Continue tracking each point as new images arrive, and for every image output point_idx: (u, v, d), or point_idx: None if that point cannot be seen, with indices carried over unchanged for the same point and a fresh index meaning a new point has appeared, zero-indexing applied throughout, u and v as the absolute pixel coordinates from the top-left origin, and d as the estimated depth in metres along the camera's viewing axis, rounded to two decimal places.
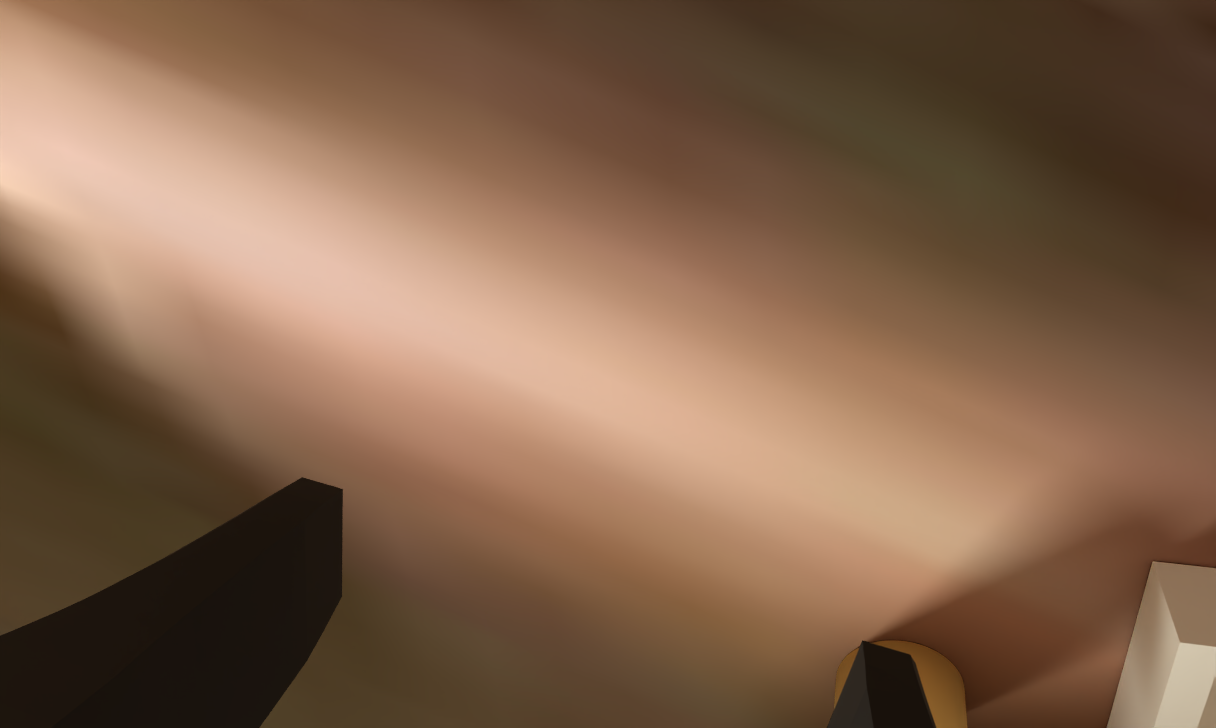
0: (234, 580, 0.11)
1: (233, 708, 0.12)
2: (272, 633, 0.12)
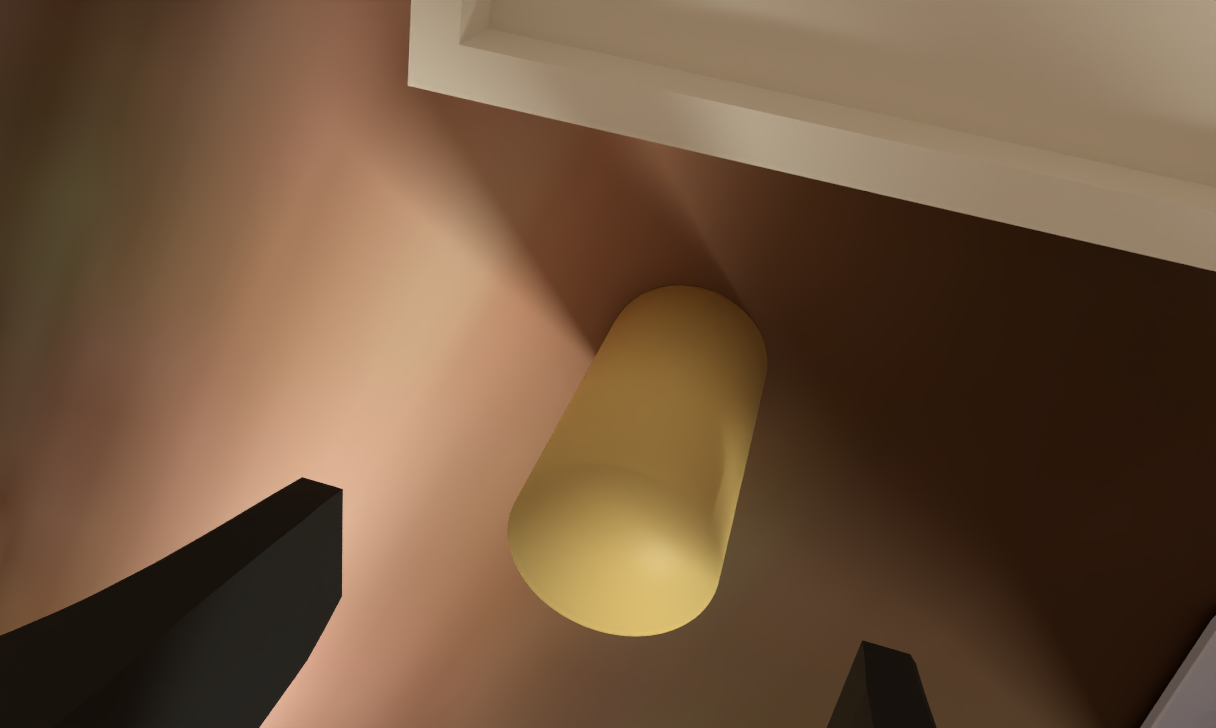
0: (234, 580, 0.11)
1: (233, 708, 0.12)
2: (272, 633, 0.12)
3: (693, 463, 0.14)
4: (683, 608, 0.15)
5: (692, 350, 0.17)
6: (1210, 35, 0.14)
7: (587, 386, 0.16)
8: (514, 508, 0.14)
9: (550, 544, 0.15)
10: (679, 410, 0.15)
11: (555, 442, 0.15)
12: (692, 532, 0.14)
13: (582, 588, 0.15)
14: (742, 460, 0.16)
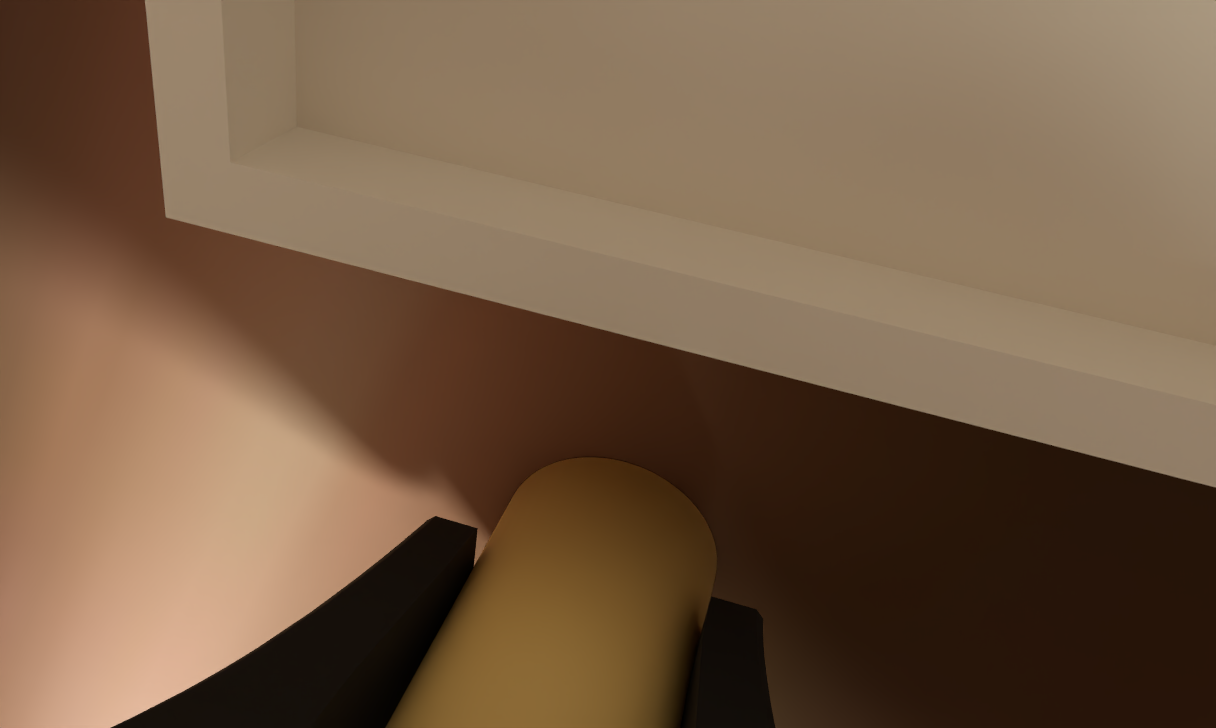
0: (393, 629, 0.11)
1: None
2: None
3: None
4: None
5: (599, 582, 0.12)
6: None
7: (444, 643, 0.11)
8: None
9: None
10: (567, 707, 0.10)
11: None
12: None
13: None
14: None
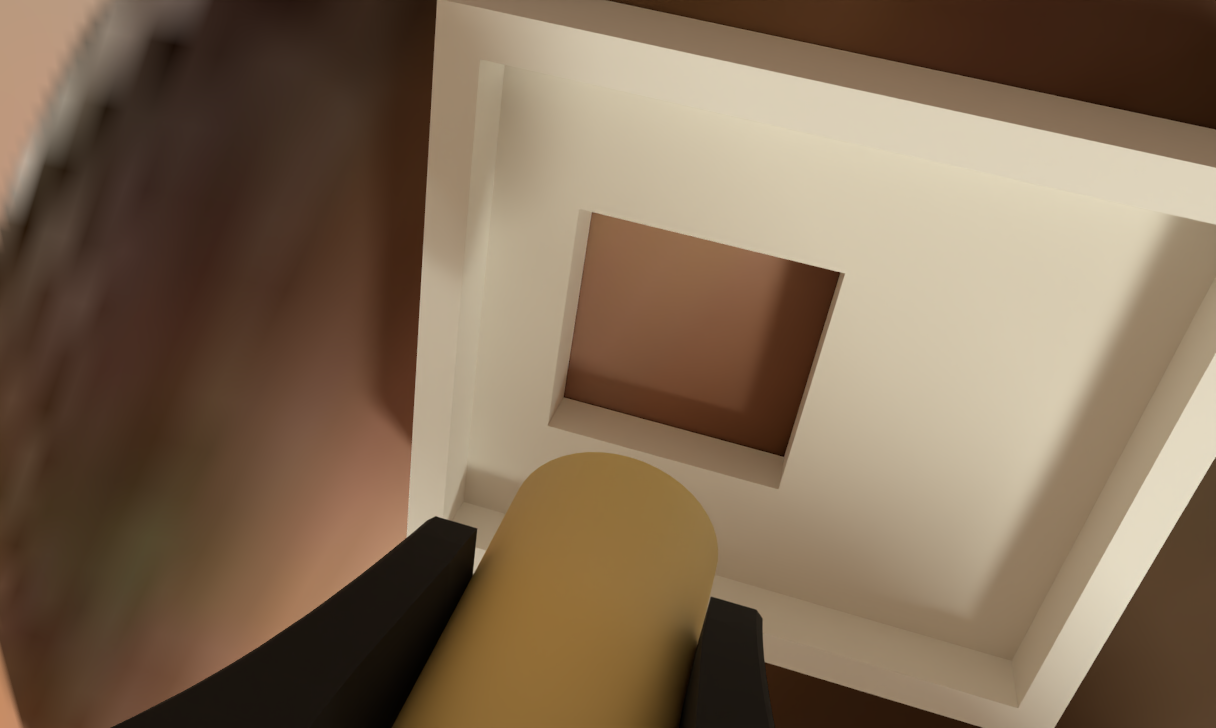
0: (393, 629, 0.11)
1: None
2: (415, 678, 0.12)
3: None
4: None
5: (604, 577, 0.12)
6: (945, 564, 0.20)
7: (454, 634, 0.12)
8: None
9: None
10: (574, 699, 0.10)
11: None
12: None
13: None
14: None
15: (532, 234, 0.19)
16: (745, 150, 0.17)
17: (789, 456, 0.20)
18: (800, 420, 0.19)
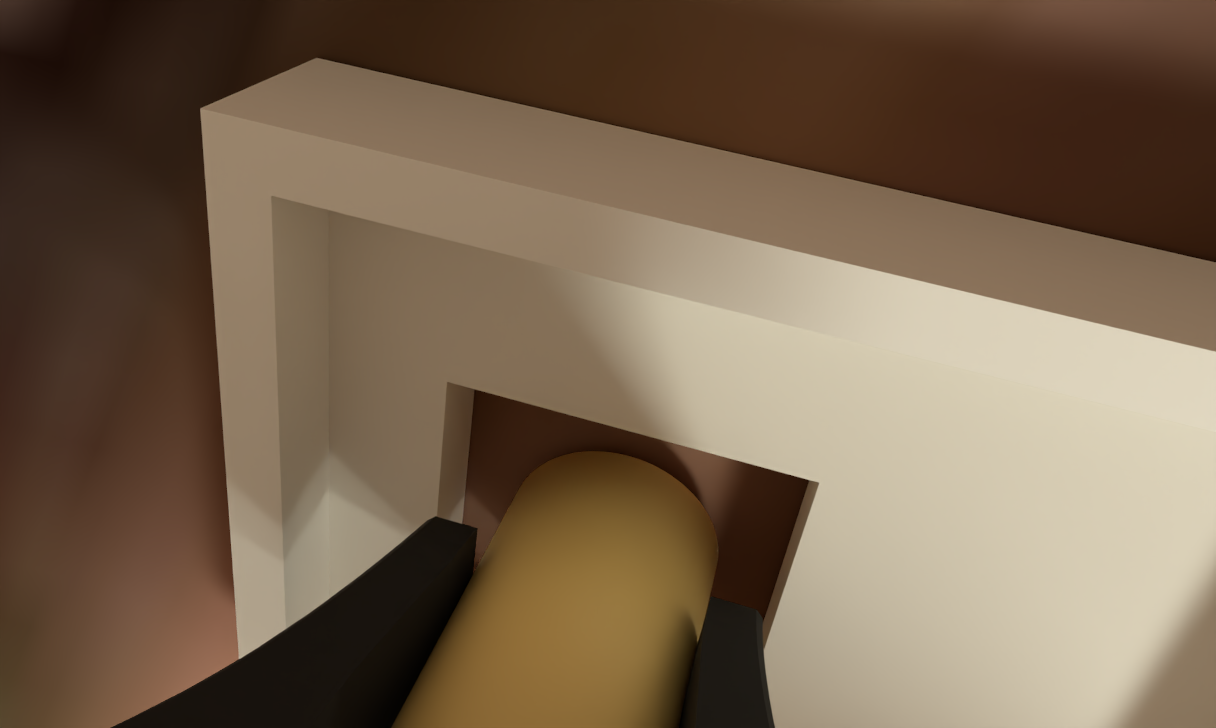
0: (393, 629, 0.11)
1: None
2: (415, 678, 0.12)
3: None
4: None
5: (604, 575, 0.12)
6: None
7: (455, 633, 0.12)
8: None
9: None
10: (574, 699, 0.10)
11: None
12: None
13: None
14: None
15: (387, 411, 0.14)
16: (673, 315, 0.12)
17: None
18: None
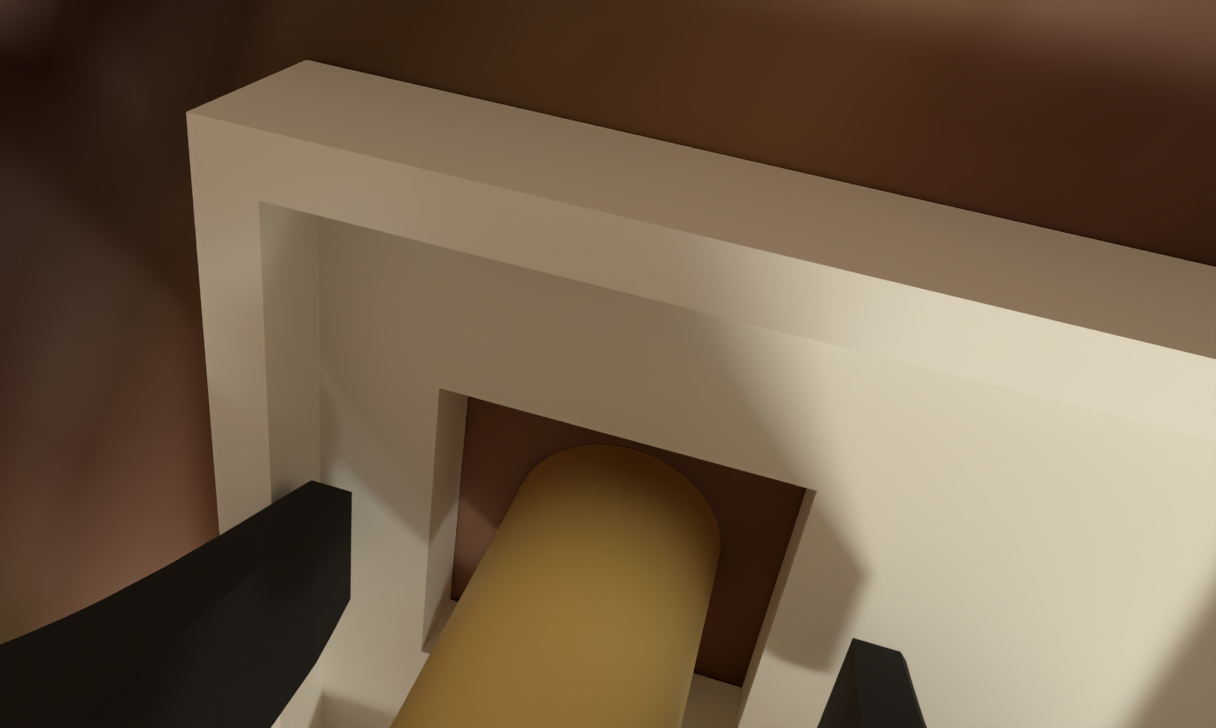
0: (245, 583, 0.11)
1: (243, 711, 0.12)
2: (282, 636, 0.12)
3: None
4: None
5: (609, 562, 0.12)
6: None
7: (461, 619, 0.12)
8: None
9: None
10: (581, 680, 0.11)
11: None
12: None
13: None
14: None
15: (378, 417, 0.13)
16: (668, 321, 0.12)
17: (745, 710, 0.14)
18: (758, 668, 0.14)
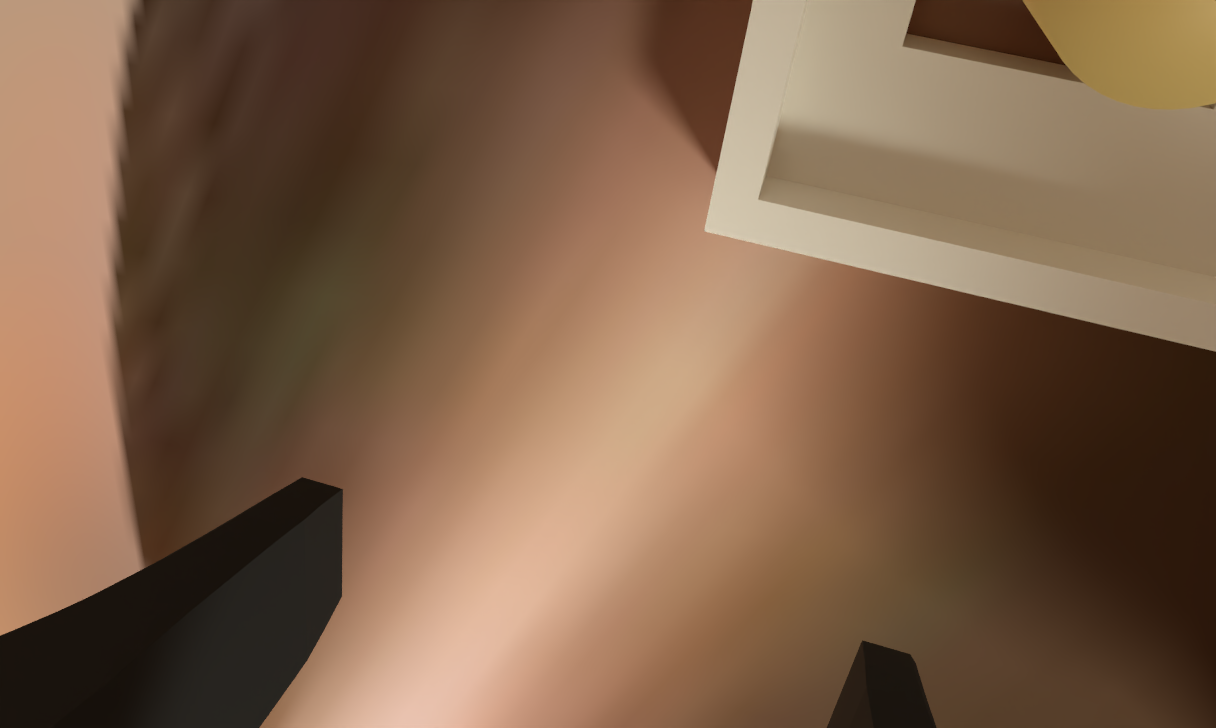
0: (234, 580, 0.11)
1: (233, 708, 0.12)
2: (272, 633, 0.12)
3: None
4: None
5: None
6: None
7: None
8: None
9: None
10: None
11: None
12: None
13: (1134, 35, 0.11)
14: None
15: None
16: None
17: None
18: None
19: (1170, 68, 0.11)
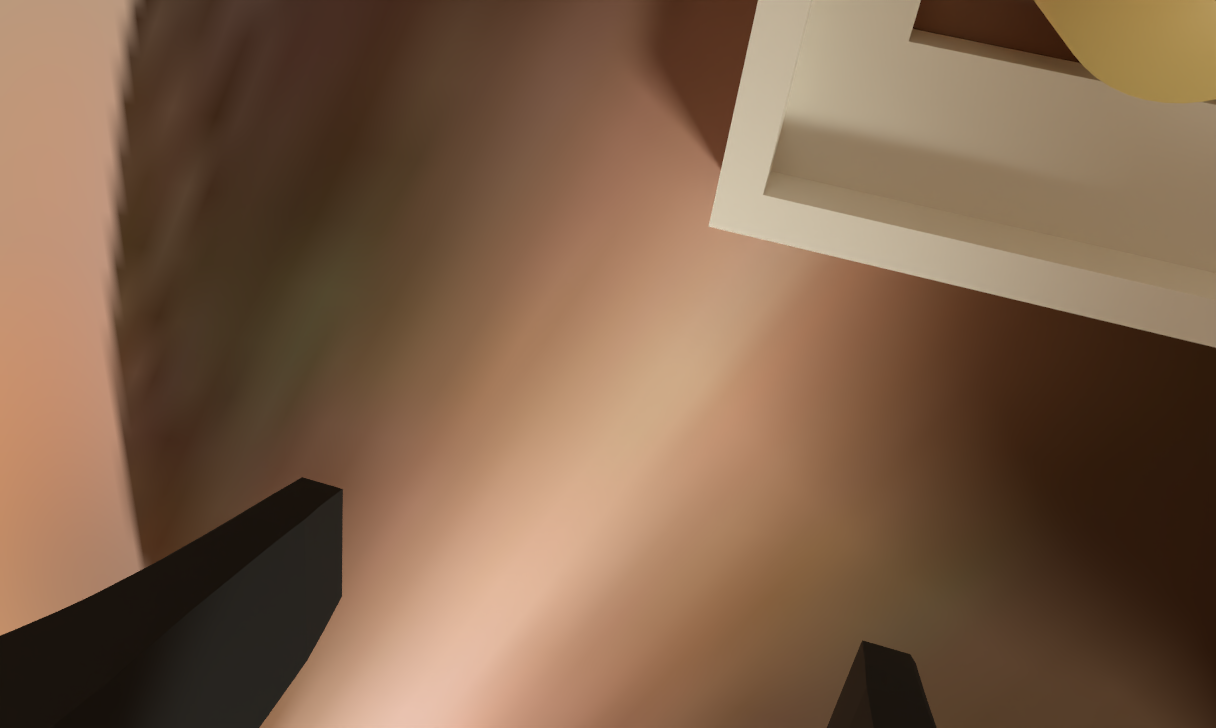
0: (234, 580, 0.11)
1: (233, 708, 0.12)
2: (272, 633, 0.12)
3: None
4: None
5: None
6: None
7: None
8: None
9: None
10: None
11: None
12: None
13: (1145, 28, 0.11)
14: None
15: None
16: None
17: None
18: None
19: (1181, 61, 0.11)
